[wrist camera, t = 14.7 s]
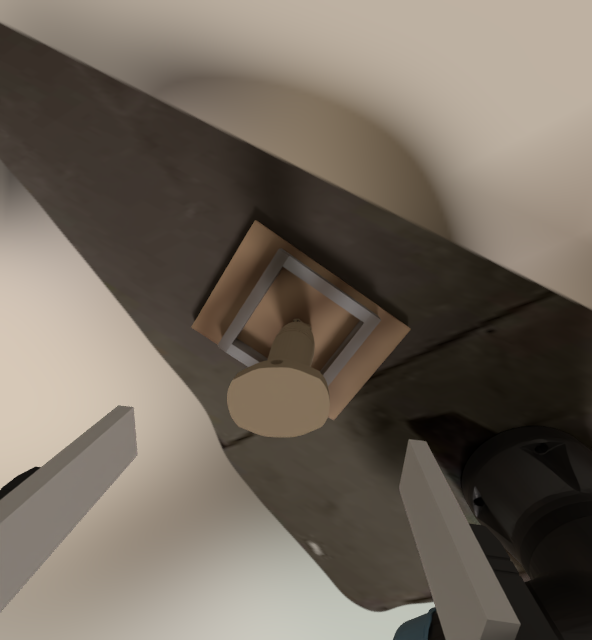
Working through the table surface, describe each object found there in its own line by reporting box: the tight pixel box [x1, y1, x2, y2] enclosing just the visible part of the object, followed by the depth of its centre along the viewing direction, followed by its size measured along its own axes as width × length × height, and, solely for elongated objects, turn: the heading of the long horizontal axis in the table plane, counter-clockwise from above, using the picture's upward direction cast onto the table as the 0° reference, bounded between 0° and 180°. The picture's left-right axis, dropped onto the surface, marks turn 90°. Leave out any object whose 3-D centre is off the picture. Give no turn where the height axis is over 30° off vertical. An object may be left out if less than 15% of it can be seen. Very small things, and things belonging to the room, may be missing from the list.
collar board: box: [192, 220, 411, 420], centre depth 32 cm, size 20×14×3 cm
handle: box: [227, 319, 330, 437], centre depth 25 cm, size 5×6×15 cm
